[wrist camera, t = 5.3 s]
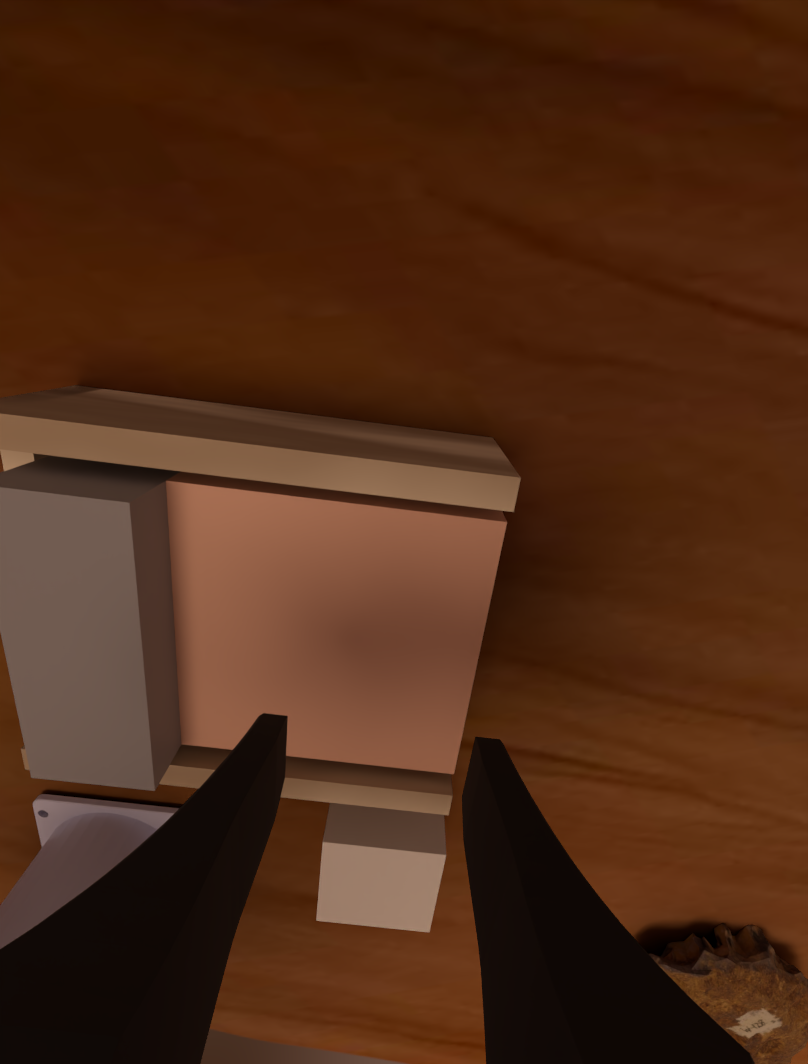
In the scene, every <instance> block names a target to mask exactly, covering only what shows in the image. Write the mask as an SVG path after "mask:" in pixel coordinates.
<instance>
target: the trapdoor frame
mask: <svg viewBox="0 0 808 1064" xmlns="http://www.w3.org/2000/svg"><path fill="white" fill-rule="evenodd" d="M0 451H1V457H2V462H3V468H4V471H7V470H10V469H12V468H15V467H18V466H21V465H24V464H27V463H30V462H33V461H36V460H38V459H41V458H44V457H47V456H57V457H65V458H73V459H82V460H90V461H98V462H106V463H116V464H124V465H133V466H141V467H149V468H157V469H165V470H174V471H182V472H190V473H198V474H206V475H214V476H223V477H231V478H239V479H247V480H255V481H264V482H272V483H280V484H288V485H296V486H305V487H313V488H321V489H329V490H337V491H345V492H354V493H362V494H370V495H378V496H386V497H395V498H403V499H411V500H419V501H427V502H436V503H444V504H452V505H460V506H468V507H476V508H485V509H493V510H501V511H509V512H514V508H515V503H516V498H517V494H518V489H519V484H520V480H521V477H520V476H519V474H518V473H517V472H516V470H515V469H514V467H513V466H512V464H511V463H510V462H509V460H508V459H507V457H506V456H505V454H504V453H503V451H502V450H501V449H500V447H499V446H498V444H497V443H496V441H495V440H494V439H493V438H492V437H484V436H476V435H468V434H460V433H452V432H444V431H436V430H428V429H420V428H412V427H404V426H396V425H388V424H380V423H372V422H364V421H356V420H348V419H340V418H332V417H324V416H316V415H308V414H300V413H292V412H284V411H276V410H268V409H261V408H253V407H245V406H237V405H229V404H221V403H213V402H205V401H197V400H189V399H181V398H173V397H165V396H157V395H149V394H141V393H133V392H125V391H117V390H109V389H101V388H93V387H85V386H77V385H75V386H69V387H63V388H57V389H51V390H45V391H39V392H33V393H27V394H21V395H15V396H9V397H3V398H0ZM231 751H232V750H229V749H220V748H211V747H202V746H193V745H183V744H181V746H180V748H179V749H178V751H177V753H176V755H175V756H174V758H173V760H172V762H171V763H170V765H169V767H168V769H167V771H166V772H165V774H164V776H163V778H162V779H161V781H160V783H159V784H163V785H172V786H182V787H191V788H200V787H201V786H202V784H203V783H204V782H205V781H206V780H207V779H208V778H209V777H210V776H211V774H212V773H213V772H214V771H215V770H216V769H217V768H218V767H219V765H220V764H221V763H222V762H223V761H224V760H225V759H226V757H227V756H228V755H229V754H230V753H231ZM21 752H22V756H23V761H24V766H25V770H30V769H29V764H28V760H27V755H26V750H25V745H24V746H23V747H22V748H21ZM281 797H283V798H293V799H302V800H311V801H320V802H330V803H339V804H348V805H357V806H367V807H376V808H385V809H394V810H404V811H413V812H422V813H431V814H441V815H449V811H450V806H451V801H452V797H453V793H452V780H451V774H447V773H438V772H429V771H420V770H411V769H402V768H393V767H384V766H374V765H365V764H356V763H347V762H338V761H329V760H320V759H311V758H302V757H293V756H286V769H285V780H284V784H283V788H282V792H281Z"/></svg>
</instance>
